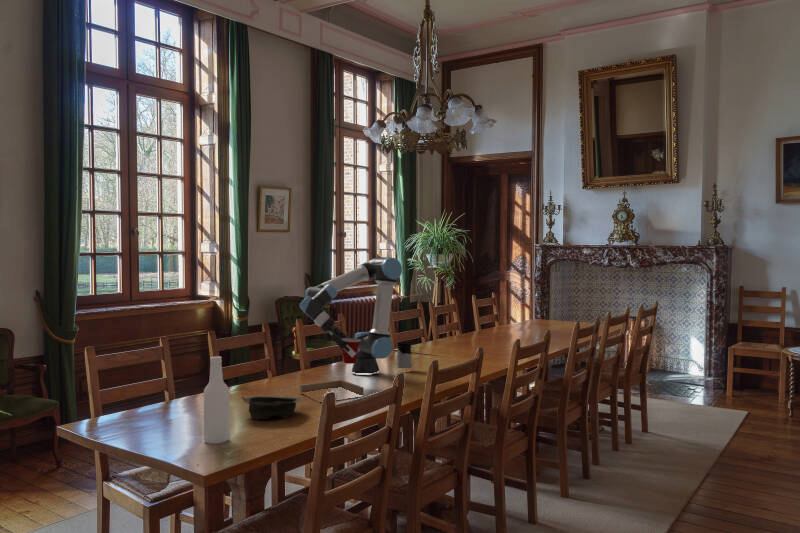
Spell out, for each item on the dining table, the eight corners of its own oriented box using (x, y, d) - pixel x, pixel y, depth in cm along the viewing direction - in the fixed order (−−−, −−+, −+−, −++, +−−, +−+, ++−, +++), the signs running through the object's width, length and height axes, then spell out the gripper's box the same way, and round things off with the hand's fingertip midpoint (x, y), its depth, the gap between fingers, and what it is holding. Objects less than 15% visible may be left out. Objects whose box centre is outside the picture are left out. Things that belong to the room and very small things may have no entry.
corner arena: (341, 388, 313) (341, 379, 313) (363, 397, 295) (363, 387, 294) (300, 394, 301) (300, 384, 301) (320, 403, 283) (320, 393, 283)
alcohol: (232, 437, 232) (231, 354, 231) (226, 444, 223) (225, 358, 222) (207, 437, 232) (206, 355, 231) (201, 444, 223) (199, 359, 222)
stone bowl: (243, 425, 247) (243, 401, 247) (242, 414, 271) (241, 392, 271) (307, 419, 253) (306, 396, 254) (300, 409, 278) (299, 388, 278)
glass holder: (394, 370, 361) (394, 343, 361) (418, 368, 366) (418, 342, 365) (399, 372, 353) (399, 346, 353) (423, 371, 357) (423, 344, 357)
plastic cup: (364, 363, 315) (363, 339, 314) (343, 365, 311) (342, 340, 310) (357, 360, 325) (357, 336, 324) (336, 361, 321) (336, 338, 320)
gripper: (325, 324, 330) (355, 355, 329) (313, 330, 308) (346, 363, 307) (335, 314, 330) (365, 345, 328) (324, 319, 307) (357, 352, 306)
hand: (356, 353), depth 317 cm, fingers closed on plastic cup, 10 cm apart
